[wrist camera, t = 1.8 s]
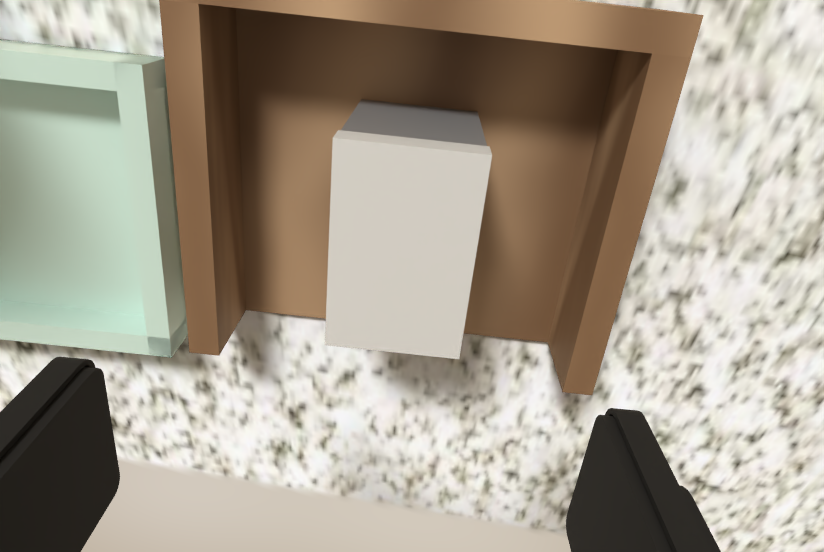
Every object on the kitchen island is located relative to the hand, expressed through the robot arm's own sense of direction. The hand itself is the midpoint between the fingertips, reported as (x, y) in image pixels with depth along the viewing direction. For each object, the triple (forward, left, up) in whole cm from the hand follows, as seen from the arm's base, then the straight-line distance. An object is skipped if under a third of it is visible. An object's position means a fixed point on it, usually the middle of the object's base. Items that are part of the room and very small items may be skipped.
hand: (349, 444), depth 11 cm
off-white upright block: (-1, 0, -15) cm, 15 cm away
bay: (-1, 0, -15) cm, 15 cm away
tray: (+14, +2, -15) cm, 21 cm away
